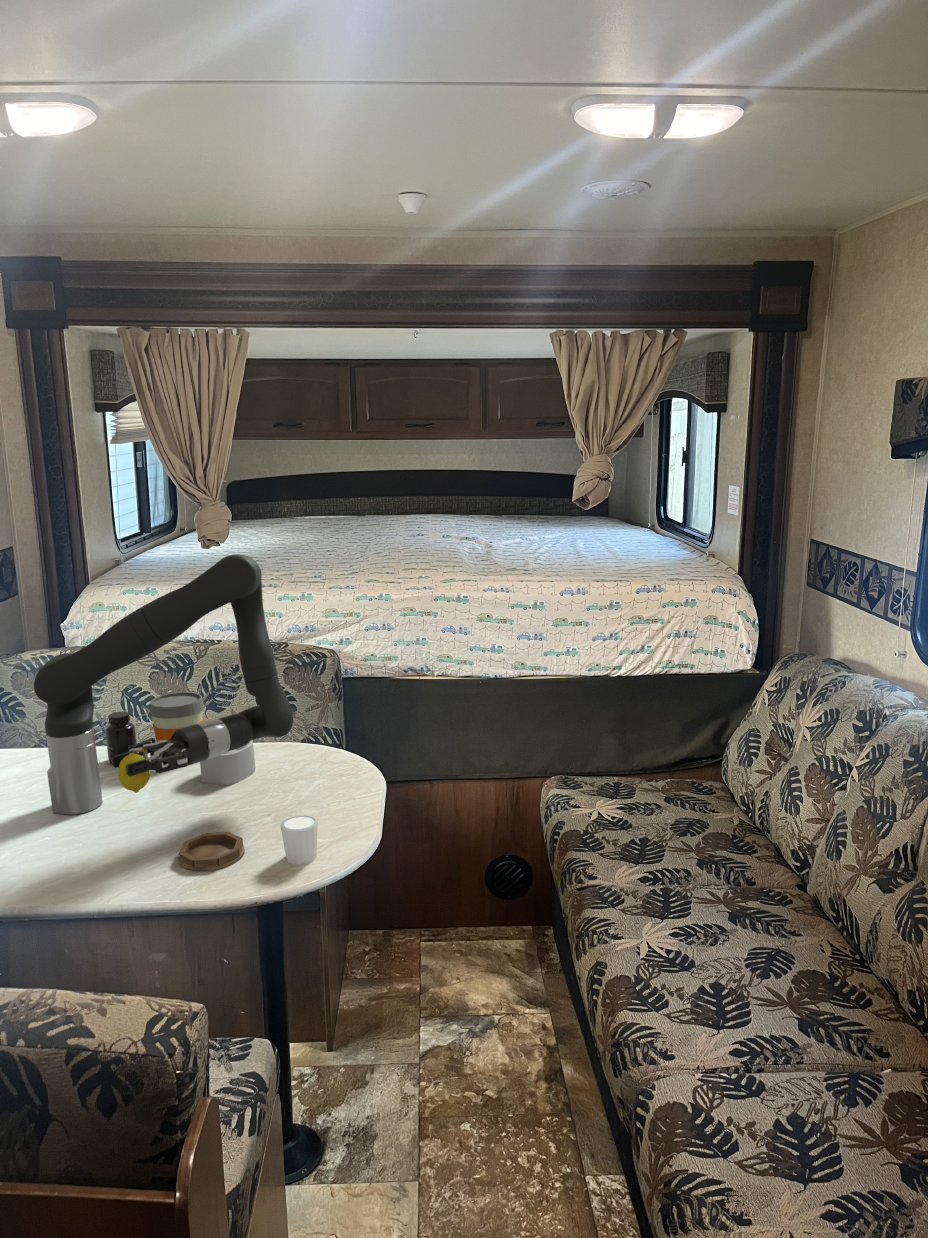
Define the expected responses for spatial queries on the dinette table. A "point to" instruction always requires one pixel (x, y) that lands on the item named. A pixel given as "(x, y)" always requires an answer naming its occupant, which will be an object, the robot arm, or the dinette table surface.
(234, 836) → the ring dish
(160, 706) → the reusable coffee cup
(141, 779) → the lemon
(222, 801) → the dinette table surface
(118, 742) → the supplement bottle
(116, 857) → the dinette table surface
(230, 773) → the lumpy-topped squat cylinder
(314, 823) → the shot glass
